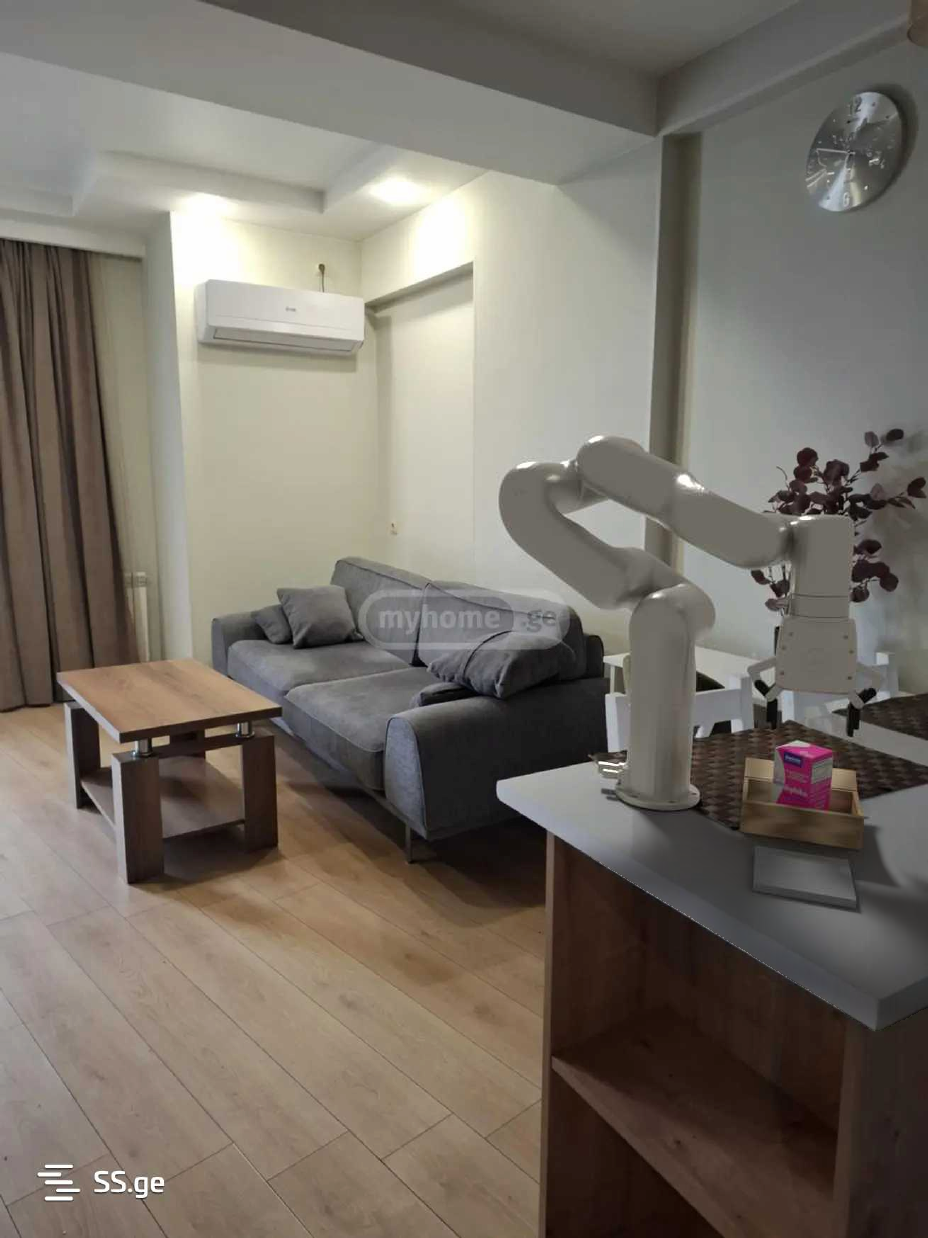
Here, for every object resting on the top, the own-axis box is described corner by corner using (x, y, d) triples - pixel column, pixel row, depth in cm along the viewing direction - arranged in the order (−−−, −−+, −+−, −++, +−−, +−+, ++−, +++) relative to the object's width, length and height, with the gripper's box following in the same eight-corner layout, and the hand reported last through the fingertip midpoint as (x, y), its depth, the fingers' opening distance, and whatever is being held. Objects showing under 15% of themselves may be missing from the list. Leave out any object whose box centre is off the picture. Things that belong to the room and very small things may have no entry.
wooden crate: (738, 843, 111) (741, 799, 110) (743, 795, 128) (746, 757, 127) (864, 863, 105) (869, 817, 104) (851, 810, 123) (855, 770, 122)
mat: (752, 890, 98) (753, 882, 97) (754, 853, 108) (755, 845, 108) (855, 908, 94) (856, 900, 94) (847, 867, 104) (848, 860, 104)
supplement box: (767, 824, 117) (773, 746, 115) (791, 815, 121) (797, 739, 119) (804, 838, 113) (812, 757, 111) (828, 829, 116) (836, 750, 114)
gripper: (749, 608, 111) (743, 732, 114) (894, 614, 105) (884, 745, 108) (751, 601, 118) (745, 718, 121) (886, 606, 112) (877, 730, 115)
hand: (810, 731), depth 114 cm, fingers open, 9 cm apart
